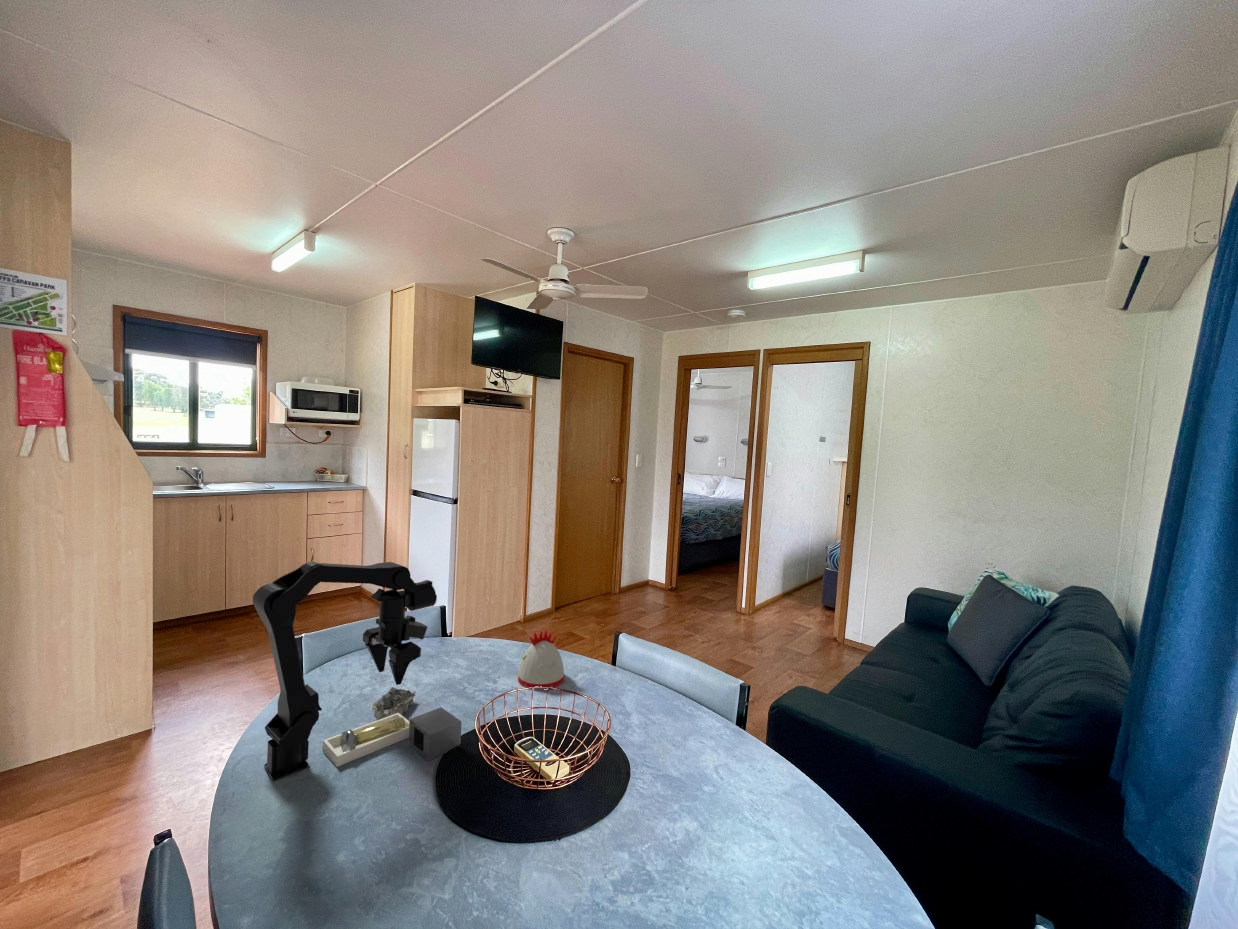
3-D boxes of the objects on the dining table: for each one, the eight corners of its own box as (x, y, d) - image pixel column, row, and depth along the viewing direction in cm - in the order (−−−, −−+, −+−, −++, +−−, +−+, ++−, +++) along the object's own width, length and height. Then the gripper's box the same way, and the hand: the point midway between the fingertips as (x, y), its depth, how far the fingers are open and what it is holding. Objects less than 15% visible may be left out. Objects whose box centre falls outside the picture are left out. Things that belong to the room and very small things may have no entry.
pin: (345, 758, 111) (352, 744, 110) (338, 740, 113) (345, 727, 112) (402, 738, 121) (409, 725, 120) (395, 722, 124) (401, 709, 122)
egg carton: (397, 723, 126) (397, 707, 126) (368, 720, 127) (369, 704, 127) (418, 701, 137) (418, 686, 137) (391, 699, 137) (392, 684, 137)
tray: (337, 767, 108) (337, 756, 108) (322, 750, 113) (323, 740, 113) (414, 735, 121) (414, 725, 121) (398, 721, 126) (398, 712, 126)
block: (428, 761, 111) (429, 735, 111) (408, 743, 117) (409, 719, 117) (460, 746, 118) (461, 721, 117) (440, 730, 123) (441, 707, 123)
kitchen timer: (513, 672, 157) (515, 624, 157) (555, 666, 163) (557, 620, 162) (524, 693, 144) (527, 641, 144) (570, 685, 150) (572, 636, 150)
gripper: (442, 617, 123) (439, 680, 124) (405, 599, 135) (403, 657, 136) (397, 628, 115) (395, 695, 115) (362, 608, 127) (360, 669, 127)
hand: (389, 677), depth 124 cm, fingers open, 9 cm apart
